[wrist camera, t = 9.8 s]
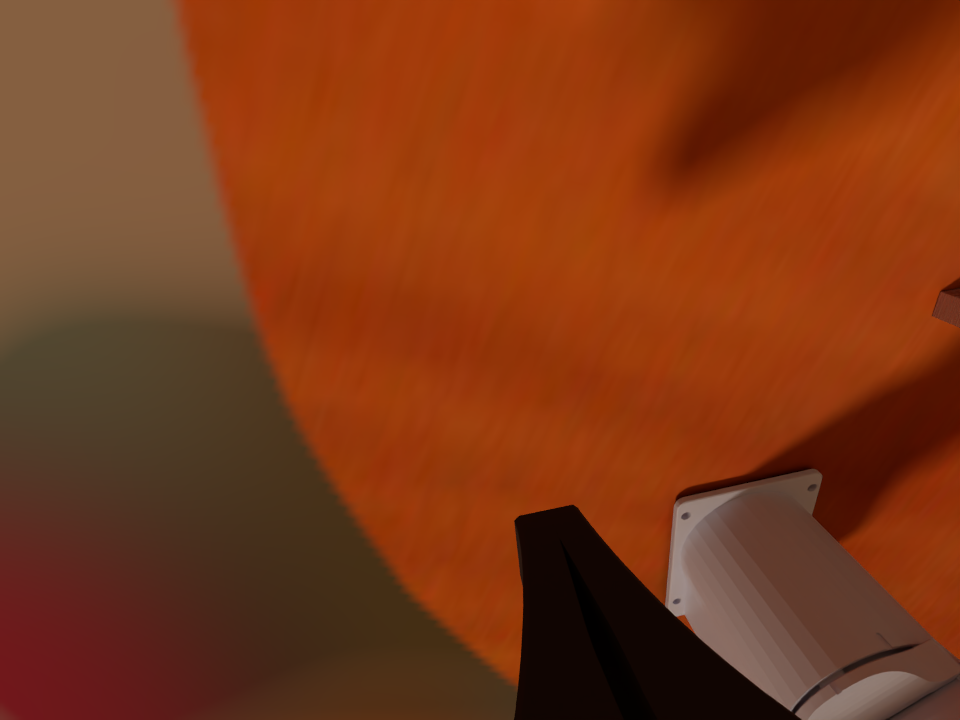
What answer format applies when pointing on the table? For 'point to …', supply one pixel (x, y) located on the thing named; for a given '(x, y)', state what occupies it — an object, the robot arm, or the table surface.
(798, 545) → the robot arm
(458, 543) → the table surface
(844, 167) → the table surface
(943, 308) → the frame
